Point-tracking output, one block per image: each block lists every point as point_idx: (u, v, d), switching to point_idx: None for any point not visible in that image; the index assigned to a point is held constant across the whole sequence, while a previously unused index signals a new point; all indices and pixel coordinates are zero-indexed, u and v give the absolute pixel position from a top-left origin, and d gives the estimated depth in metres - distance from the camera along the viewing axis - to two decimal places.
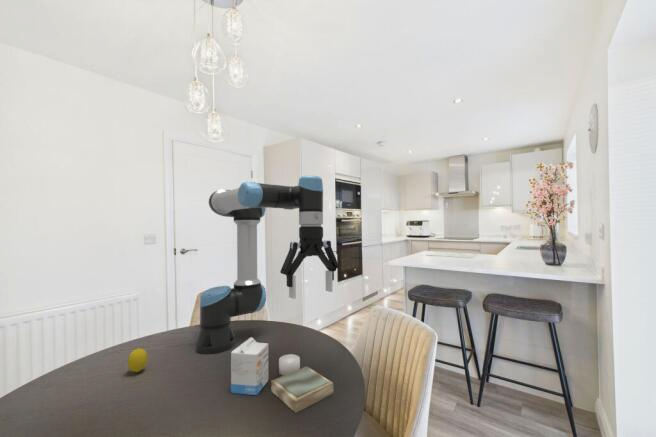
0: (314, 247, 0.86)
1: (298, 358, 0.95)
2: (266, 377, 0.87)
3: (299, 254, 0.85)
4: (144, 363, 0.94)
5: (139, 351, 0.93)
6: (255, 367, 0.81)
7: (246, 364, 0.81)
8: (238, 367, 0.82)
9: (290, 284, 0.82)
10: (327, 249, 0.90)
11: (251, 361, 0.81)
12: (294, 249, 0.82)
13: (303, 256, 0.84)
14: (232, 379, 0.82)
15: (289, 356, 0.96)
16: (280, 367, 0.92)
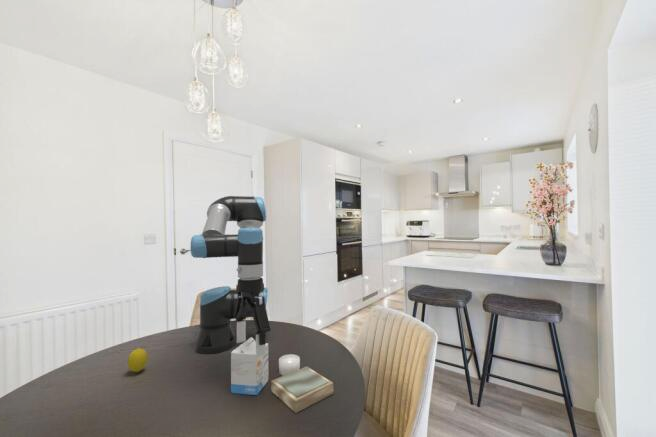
0: None
1: (298, 358, 0.95)
2: (266, 377, 0.87)
3: None
4: (144, 363, 0.94)
5: (139, 351, 0.93)
6: (255, 367, 0.81)
7: (246, 364, 0.81)
8: (238, 367, 0.82)
9: None
10: None
11: (251, 361, 0.81)
12: (237, 297, 0.90)
13: (240, 306, 0.88)
14: (232, 379, 0.82)
15: (289, 356, 0.96)
16: (280, 367, 0.92)
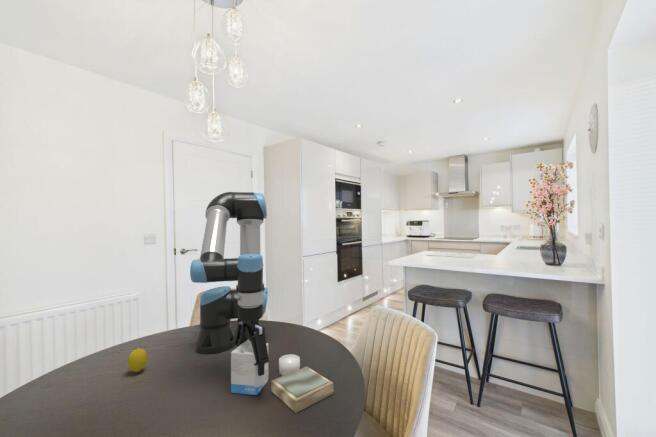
0: None
1: (298, 358, 0.95)
2: (266, 377, 0.87)
3: None
4: (144, 363, 0.94)
5: (139, 351, 0.93)
6: None
7: (246, 364, 0.81)
8: (238, 367, 0.81)
9: None
10: None
11: (251, 361, 0.81)
12: None
13: (241, 333, 0.87)
14: (232, 379, 0.82)
15: (289, 356, 0.96)
16: (280, 367, 0.92)
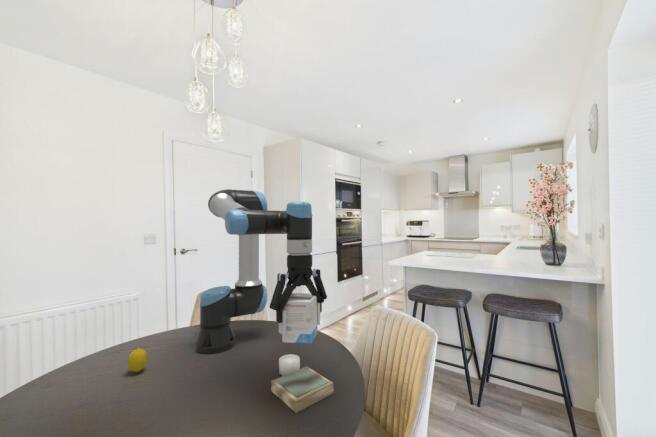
0: (303, 276, 0.82)
1: (298, 358, 0.95)
2: None
3: (288, 285, 0.81)
4: (144, 363, 0.94)
5: (139, 351, 0.93)
6: (316, 307, 0.85)
7: (314, 308, 0.82)
8: (312, 314, 0.80)
9: (280, 320, 0.77)
10: (316, 278, 0.86)
11: (315, 303, 0.84)
12: (282, 281, 0.77)
13: (292, 288, 0.79)
14: (310, 329, 0.78)
15: (289, 356, 0.96)
16: (280, 367, 0.92)
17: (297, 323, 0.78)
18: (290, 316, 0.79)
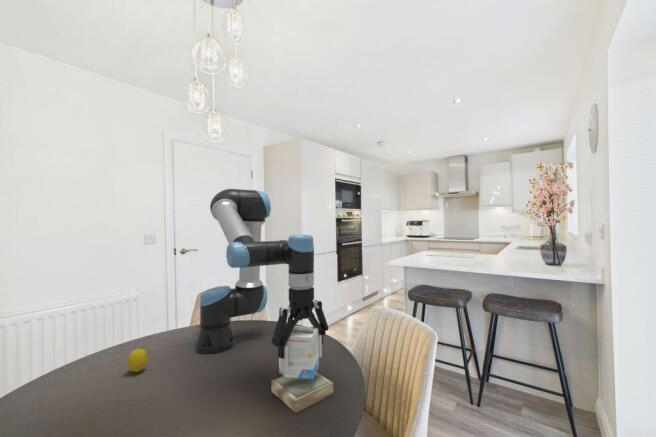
0: (305, 310, 0.82)
1: None
2: None
3: (289, 319, 0.80)
4: (144, 363, 0.94)
5: (139, 351, 0.93)
6: (318, 339, 0.85)
7: (316, 341, 0.82)
8: (314, 348, 0.80)
9: (282, 355, 0.77)
10: (317, 310, 0.86)
11: (317, 336, 0.84)
12: (284, 317, 0.77)
13: (294, 323, 0.79)
14: (312, 364, 0.78)
15: None
16: (280, 367, 0.92)
17: (299, 359, 0.78)
18: (292, 351, 0.78)
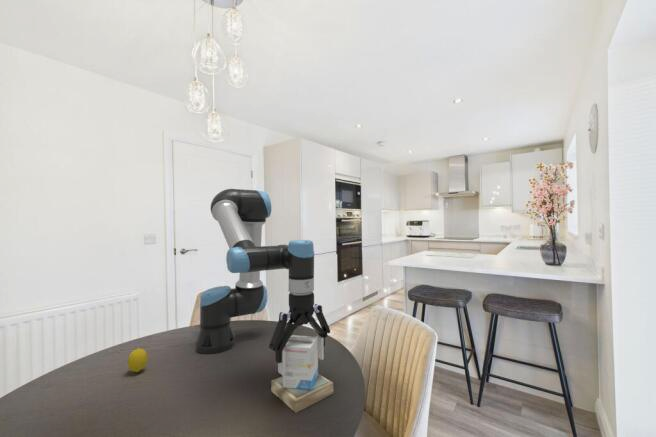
0: (305, 315, 0.82)
1: None
2: None
3: (289, 324, 0.80)
4: (144, 363, 0.94)
5: (139, 351, 0.93)
6: (317, 349, 0.85)
7: (315, 351, 0.82)
8: (313, 358, 0.79)
9: (279, 360, 0.76)
10: (318, 314, 0.86)
11: (316, 345, 0.83)
12: (283, 321, 0.77)
13: (293, 328, 0.79)
14: (311, 375, 0.77)
15: None
16: None
17: (298, 369, 0.78)
18: (290, 361, 0.78)
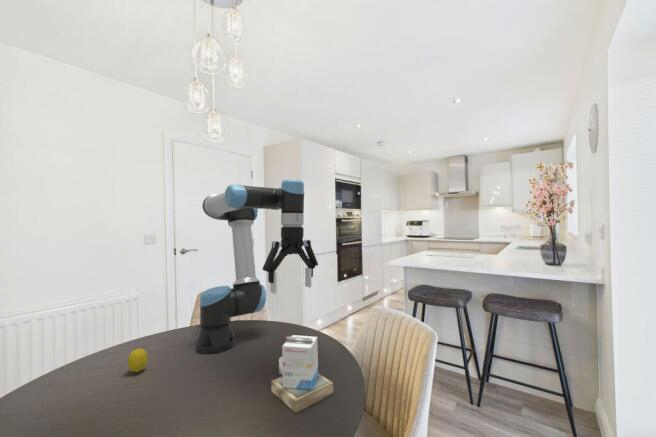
0: (295, 246, 0.93)
1: None
2: None
3: (280, 252, 0.91)
4: (144, 363, 0.94)
5: (139, 351, 0.93)
6: (317, 349, 0.85)
7: (315, 351, 0.82)
8: (313, 358, 0.79)
9: (271, 280, 0.88)
10: (307, 248, 0.97)
11: (316, 345, 0.83)
12: (275, 247, 0.88)
13: (284, 254, 0.90)
14: (311, 375, 0.77)
15: None
16: (280, 367, 0.92)
17: (298, 369, 0.78)
18: (290, 361, 0.78)
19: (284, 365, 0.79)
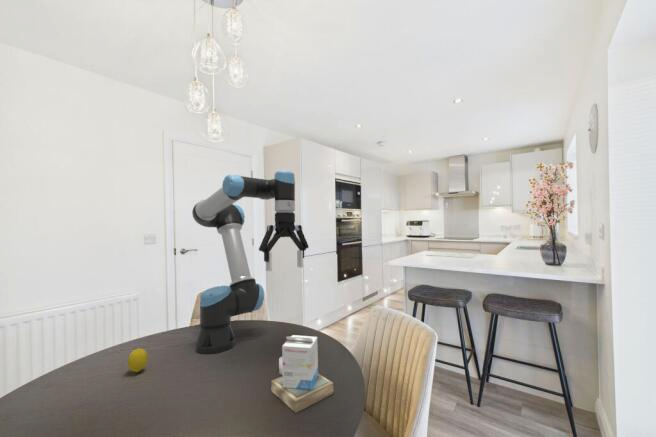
0: (287, 230, 1.05)
1: None
2: None
3: (274, 235, 1.03)
4: (144, 363, 0.94)
5: (139, 351, 0.93)
6: (317, 349, 0.85)
7: (315, 351, 0.82)
8: (313, 358, 0.79)
9: (267, 259, 0.99)
10: (298, 232, 1.09)
11: (316, 345, 0.83)
12: (270, 230, 1.00)
13: (278, 237, 1.02)
14: (311, 375, 0.77)
15: None
16: (280, 367, 0.92)
17: (298, 369, 0.78)
18: (290, 361, 0.78)
19: (284, 365, 0.79)
